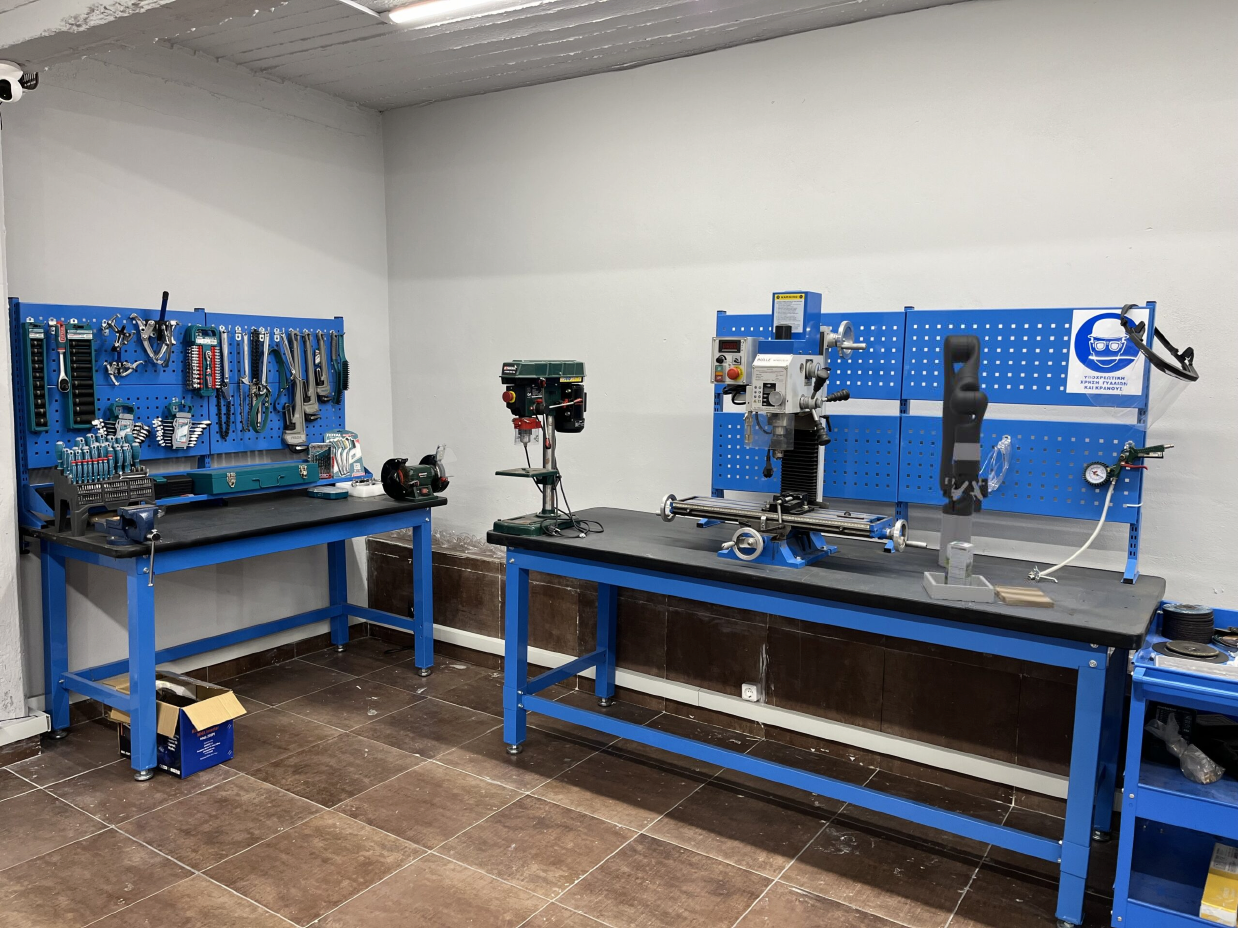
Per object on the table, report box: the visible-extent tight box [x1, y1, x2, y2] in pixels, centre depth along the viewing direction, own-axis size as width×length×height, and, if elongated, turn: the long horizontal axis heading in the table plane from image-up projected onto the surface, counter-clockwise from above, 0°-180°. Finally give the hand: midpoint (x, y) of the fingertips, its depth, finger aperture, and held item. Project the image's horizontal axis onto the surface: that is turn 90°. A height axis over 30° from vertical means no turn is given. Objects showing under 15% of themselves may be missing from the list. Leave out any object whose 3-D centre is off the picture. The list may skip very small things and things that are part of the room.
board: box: [992, 585, 1055, 609], centre depth 243 cm, size 16×12×2 cm
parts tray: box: [922, 571, 995, 604], centre depth 247 cm, size 16×16×4 cm
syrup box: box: [944, 542, 975, 586], centre depth 247 cm, size 6×6×14 cm
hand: (964, 512), depth 261 cm, fingers open, 8 cm apart
